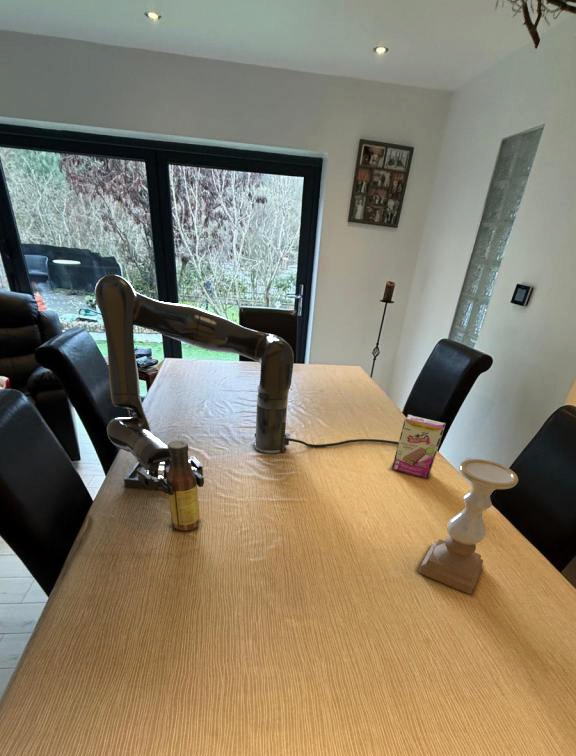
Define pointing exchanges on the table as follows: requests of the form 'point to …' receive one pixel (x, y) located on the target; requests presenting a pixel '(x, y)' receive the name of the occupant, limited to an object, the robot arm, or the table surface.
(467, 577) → the candle holder
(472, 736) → the table surface
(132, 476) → the dark square tray
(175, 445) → the sauce bottle
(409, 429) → the candy bar box
